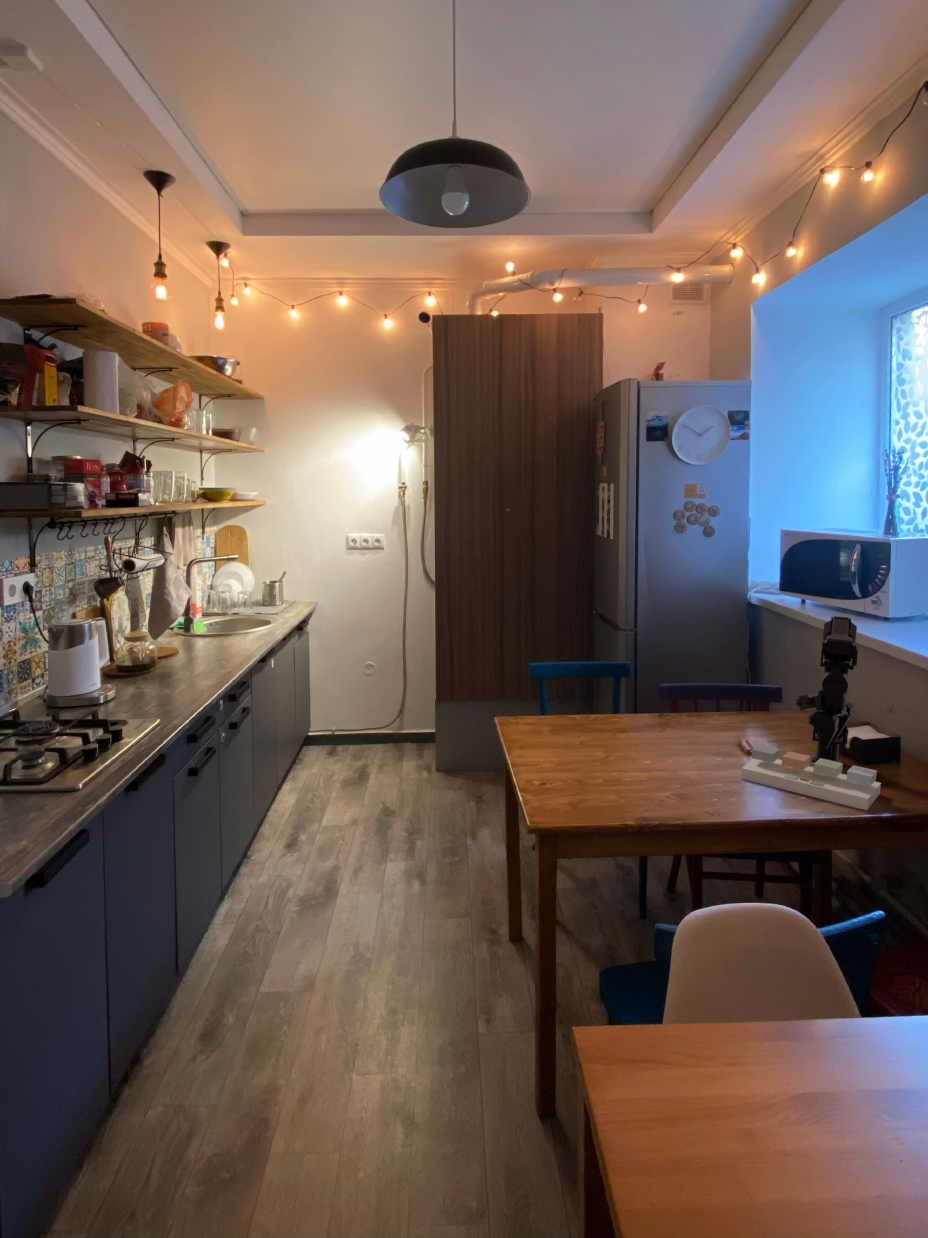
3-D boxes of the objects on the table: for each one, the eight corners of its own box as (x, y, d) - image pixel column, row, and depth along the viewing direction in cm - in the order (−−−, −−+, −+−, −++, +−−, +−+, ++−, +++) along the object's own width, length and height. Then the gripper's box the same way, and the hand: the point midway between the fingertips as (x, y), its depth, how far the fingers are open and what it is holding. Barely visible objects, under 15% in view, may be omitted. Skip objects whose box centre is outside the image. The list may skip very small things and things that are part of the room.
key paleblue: (852, 774, 201) (853, 765, 200) (875, 779, 197) (876, 770, 197) (846, 780, 196) (847, 771, 196) (870, 786, 193) (871, 776, 192)
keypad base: (758, 765, 219) (759, 754, 219) (879, 794, 200) (881, 782, 199) (740, 778, 209) (741, 767, 208) (866, 810, 189) (868, 798, 189)
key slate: (758, 752, 216) (759, 744, 215) (779, 757, 212) (780, 749, 212) (751, 758, 211) (752, 749, 211) (772, 762, 208) (773, 754, 207)
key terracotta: (788, 759, 211) (789, 751, 210) (809, 764, 207) (810, 756, 207) (781, 765, 206) (782, 756, 206) (803, 770, 203) (804, 761, 202)
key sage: (819, 766, 206) (820, 758, 205) (842, 772, 202) (843, 763, 202) (813, 772, 201) (814, 763, 201) (836, 777, 198) (837, 768, 197)
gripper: (812, 674, 210) (806, 730, 213) (790, 688, 196) (784, 747, 199) (856, 682, 203) (850, 739, 206) (837, 696, 189) (831, 757, 192)
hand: (828, 745), depth 201 cm, fingers open, 8 cm apart
